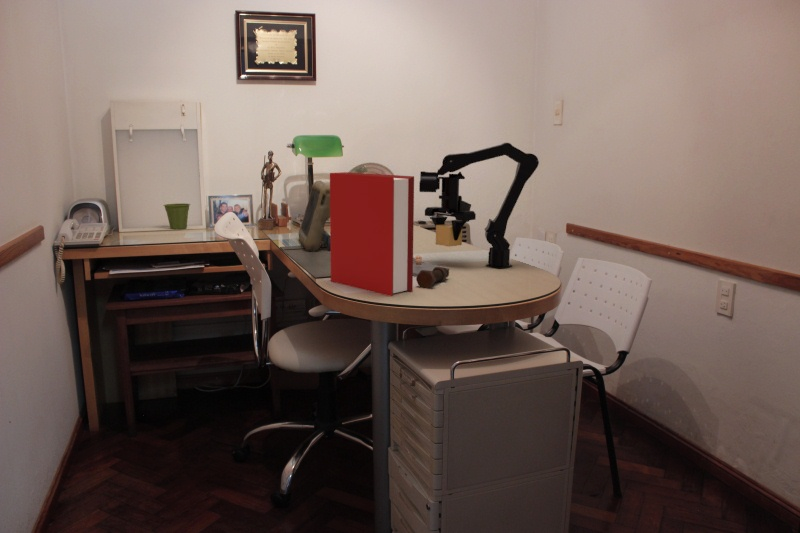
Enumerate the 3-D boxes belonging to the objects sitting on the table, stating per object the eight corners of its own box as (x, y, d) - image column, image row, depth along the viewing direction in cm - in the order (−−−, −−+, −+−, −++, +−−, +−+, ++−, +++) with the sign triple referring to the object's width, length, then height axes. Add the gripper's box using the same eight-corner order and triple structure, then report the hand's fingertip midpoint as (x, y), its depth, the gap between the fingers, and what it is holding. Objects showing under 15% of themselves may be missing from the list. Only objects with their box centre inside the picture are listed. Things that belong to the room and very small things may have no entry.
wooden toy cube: (461, 244, 217) (462, 225, 216) (448, 246, 213) (449, 227, 212) (448, 242, 222) (449, 223, 221) (435, 244, 218) (436, 225, 217)
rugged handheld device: (292, 239, 272) (290, 180, 267) (324, 238, 276) (323, 179, 271) (306, 252, 242) (304, 185, 237) (342, 251, 246) (341, 185, 241)
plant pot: (184, 226, 310) (183, 202, 308) (195, 228, 301) (194, 204, 299) (160, 228, 302) (159, 204, 300) (171, 231, 294) (169, 206, 291)
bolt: (446, 284, 198) (426, 293, 185) (433, 275, 200) (413, 282, 187) (456, 269, 196) (436, 276, 183) (443, 260, 198) (422, 266, 184)
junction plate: (448, 271, 209) (449, 256, 208) (417, 276, 200) (417, 261, 199) (419, 264, 220) (419, 250, 219) (388, 269, 210) (388, 254, 209)
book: (412, 291, 181) (414, 176, 175) (392, 296, 175) (393, 177, 169) (348, 276, 199) (347, 172, 193) (327, 280, 194) (326, 173, 188)
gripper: (487, 193, 213) (485, 240, 216) (447, 189, 226) (445, 233, 229) (464, 195, 205) (462, 243, 208) (424, 191, 219) (423, 236, 222)
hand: (448, 239), depth 217 cm, fingers closed on wooden toy cube, 6 cm apart
